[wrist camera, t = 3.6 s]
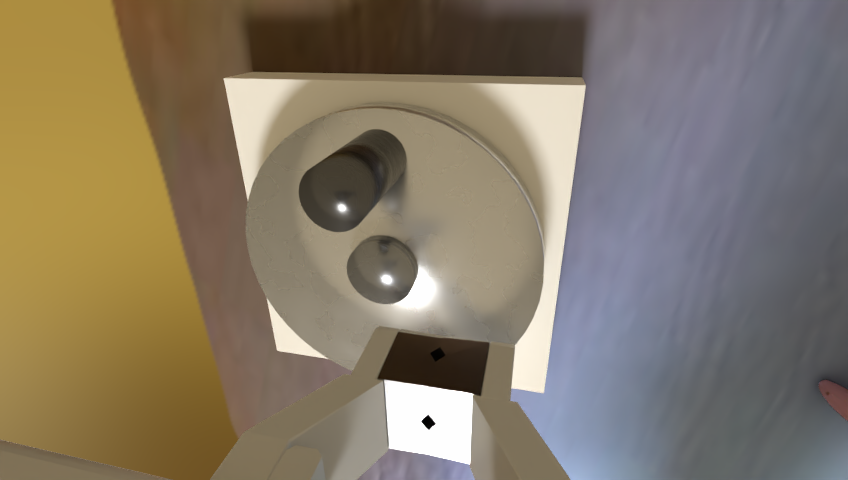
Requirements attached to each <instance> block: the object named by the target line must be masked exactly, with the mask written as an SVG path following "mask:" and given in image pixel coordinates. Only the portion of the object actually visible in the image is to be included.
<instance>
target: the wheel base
mask: <svg viewBox="0 0 848 480" xmlns="http://www.w3.org/2000/svg"><path fill="white" fill-rule="evenodd" d="M224 82H225V87H226V92H227V97H228V102H229V107H230V112H231V118H232V123H233V128H234V133H235V138H236V143H237V148H238V153H239V158H240V163H241V169H242V174H243V179H244V184H245V189H246V194H247V199H249V195H250V192H251V188H252V185H253V182H254V180H255V178H256V176H257V174H258V171H259V169H260V168H261V166H262V165H263V163H264V162H265V160H266V159H267V157H268V156H269V154H270V153H271V152H272V151H273V150H274V149H275V148H276V147H277V146H278V145H279V143H280V142H281V141H282V140H284V139H285V138H286V137H288V136H289V135H290V134H292V133H293V132H294V131H296V130H297V129H299V128H301V127H302V126H304V125H306V124H308V123H310V122H312V121H314V120H316V119H318V118H320V117H322V116H324V115H326V114H328V113H330V112H333V111H336V110H339V109H342V108H345V107H347V106H352V105H358V104H363V103H371V102H395V103H405V104H412V105H416V106H420V107H424V108H428V109H432V110H434V111H437V112H440V113H442V114H445V115H447V116H450V117H452V118H454V119H456V120H458V121H459V122H461V123H463V124H465V125H467V126H469V127H470V128H472V129H473V130H475V131H476V132H477V133H479V134H480V135H481V136H483V137H484V138H486V139H487V140H488V141H489V142H491V143H492V144H493V145H494V146H495V147H496V148H497V149H498V150H499V151H500V152H501V153H502V154H503V155H504V156H505V157H506V158H507V159H508V161H509V162H510V163H511V164H512V166H513V167H514V168H515V169H516V171H517V172H518V173H519V175H520V177H521V178H522V180H523V182H524V183H525V185H526V187H527V188H528V190H529V192H530V194H531V196H532V199H533V201H534V203H535V206H536V208H537V211H538V215H539V219H540V222H541V226H542V231H543V240H544V277H543V287H542V292H541V297H540V302H539V304H538V307H537V310H536V312H535V315H534V318H533V320H532V321H531V323H530V325H529V327H528V328H527V330H526V332H525V333H524V335H523V336H522V337H521V338H520V340H519V341H518V342H517V343H516V345H515V355H514V365H513V376H512V387H511V388H514V389H520V390H527V391H533V392H539V393H544V388H545V381H546V373H547V366H548V359H549V351H550V344H551V337H552V329H553V322H554V315H555V307H556V300H557V293H558V285H559V278H560V271H561V263H562V256H563V249H564V241H565V234H566V227H567V219H568V212H569V205H570V198H571V190H572V183H573V176H574V168H575V161H576V154H577V146H578V139H579V132H580V124H581V117H582V110H583V102H584V95H585V88H586V85H585V83H584V81H583V78H582V77H532V76H471V75H411V74H351V73H291V72H250V73H245V74H241V75H236V76H231V77H227V78H224ZM267 301H268V306H269V311H270V316H271V322H272V327H273V332H274V337H275V342H276V347H277V351H282V352H289V353H295V354H301V355H307V356H314V357H320V358H326V357H325V356H323V355H322V354H320V353H319V352H317V351H316V350H315V349H313V348H312V347H311V346H309V345H308V344H307V343H306V342H305V341H303V340H302V339H301V338H300V337H299V336H298V335H297V334H296V333H295V332H294V331H293V330H292V329H291V328H290V327H289V326H288V325H287V324H286V323H285V322H284V321H283V319H282V318H281V317H280V316H279V315H278V313H277V312H276V311H275V309H274V308H273V306H272V305H271V303H270V302H269V300H268V299H267ZM326 359H328V358H326Z"/></svg>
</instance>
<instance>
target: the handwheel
mask: <svg viewBox="0 0 848 480" xmlns="http://www.w3.org/2000/svg"><path fill="white" fill-rule="evenodd" d="M246 238H247V245H248V252H249V255H250V259H251V263H252V266H253V269H254V272H255V274H256V277H257V279H258V282H259V284H260V286H261V288H262V290H263V291H264V293H265V295H266V297H267V299H268V300H269V302H270V303H271V305H272V306H273V308H274V309H275V311H276V312H277V313H278V315H279V316H280V317H281V318H282V319H283V321H284V322H285V323H286V324H287V325H288V326H289V327H290V328H291V329H292V330H293V331H294V332H295V333H296V334H297V335H298V336H299V337H300V338H301V339H302V340H303V341H305V342H306V343H307V344H308V345H309V346H311V347H312V348H313V349H315V350H316V351H317V352H319V353H320V354H322V355H323V356H325V357H326V358H328V359H330V360H332V361H333V362H335V363H337V364H339V365H341V366H343V367H345V368H347V369H349V370H352V371H353V370H354V368H355V366H356V364H357V362H358V360H359V358H360V357H361V355H362V353H363V351H364V349H365V347H366V345H367V343H368V342H369V340H370V338H371V336H372V334H373V332H374V330H375V329H376V328H377V327H379V326H384V327H390V328H397V329H400V330H401V329H405V330H411V331H417V332H424V333H430V334H436V335H442V336H448V337H455V338H463V339H471V340H478V341H486V342H490V343H491V342H500V343H509V344H514V345H516V343H517V342H518V341H519V340H520V338H521V337H522V336H523V335H524V333H525V332H526V330H527V328H528V327H529V325H530V323H531V321H532V320H533V318H534V315H535V312H536V310H537V307H538V304H539V302H540V297H541V292H542V287H543V277H544V240H543V231H542V226H541V222H540V219H539V215H538V211H537V208H536V206H535V203H534V201H533V199H532V196H531V194H530V192H529V190H528V188H527V187H526V185H525V183H524V182H523V180H522V178H521V177H520V175H519V173H518V172H517V171H516V169H515V168H514V167H513V166H512V164H511V163H510V162H509V161H508V159H507V158H506V157H505V156H504V155H503V154H502V153H501V152H500V151H499V150H498V149H497V148H496V147H495V146H494V145H493V144H492V143H491V142H489V141H488V140H487V139H486V138H484V137H483V136H481V135H480V134H479V133H477V132H476V131H475V130H473V129H472V128H470V127H469V126H467V125H465V124H463V123H461V122H459V121H458V120H456V119H454V118H452V117H450V116H447V115H445V114H442V113H440V112H437V111H434V110H432V109H428V108H424V107H420V106H416V105H412V104H405V103H395V102H371V103H363V104H358V105H352V106H347V107H345V108H342V109H339V110H336V111H333V112H330V113H328V114H326V115H324V116H322V117H320V118H318V119H316V120H314V121H312V122H310V123H308V124H306V125H304V126H302V127H301V128H299V129H297V130H296V131H294V132H293V133H292V134H290V135H289V136H288V137H286V138H285V139H284V140H282V141H281V142H280V143H279V145H278V146H277V147H276V148H275V149H274V150H273V151H272V152H271V153H270V154H269V156H268V157H267V159H266V160H265V162H264V163H263V165H262V166H261V168H260V169H259V171H258V174H257V176H256V178H255V180H254V182H253V185H252V188H251V192H250V195H249V199H248V204H247V212H246Z"/></svg>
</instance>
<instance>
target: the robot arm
mask: <svg viewBox="0 0 848 480" xmlns="http://www.w3.org/2000/svg"><path fill="white" fill-rule="evenodd" d="M514 355H515V345H514V344H509V343H500V342H491V343H490V342H486V341H478V340H471V339H463V338H455V337H448V336H442V335H436V334H430V333H424V332H417V331H411V330H405V329H401V330H400V329H397V328H390V327H384V326H379V327H377V328H376V329H375V330H374V332H373V334H372V336H371V338H370V340H369V342H368V343H367V345H366V347H365V349H364V351H363V353H362V355H361V357H360V358H359V360H358V362H357V364H356V366H355V368H354V370H353V372H352V373H351V375H346V374H344V375H342V376H340V377H338V378H337V379H335V380H333V381H332V382H330V383H328V384H326V385H325V386H323V387H321V388H319V389H318V390H316V391H314V392H313V393H311V394H309V395H307V396H306V397H304V398H302V399H300V400H299V401H297V402H295V403H293V404H292V405H290V406H288V407H287V408H285V409H283V410H281V411H280V412H278V413H276V414H274V415H273V416H271V417H269V418H268V419H266V420H264V421H262V422H261V423H259V424H257V425H255V426H254V427H252V428H250V429H249V430H247V431H245V432H244V433H243V434H242V436H241V437H240V438H239V440H238V441H237V443H236V444H235V446H234V447H233V448H232V450H231V451H230V452H229V454H228V455H227V457H226V458H225V460H224V461H223V462H222V464H221V465H220V466H219V468H218V469H217V471H216V472H215V473H214V475H213V476H212V478H211V479H210V480H357V479H358V478H359V477H360V476H361V475H362V474H363V473H364V472H365V471H366V470H367V469H369V468H370V467H371V466H372V465H373V464H374V463H375V462H376V461H377V460H378V459H379V458H380V457H382V456H383V455H384V454H385V453H386V452H387V451H388V448H392V449H398V450H405V451H411V452H417V453H423V454H429V455H433V456H438V457H442V458H447V459H451V460H456V461H460V462H465V463H469V464H470V468H471V470H472V473H473V475H474V478H475V480H570V478H569V477H568V475H567V474H566V472H565V471H564V469H563V468H562V466H561V465H560V464H559V462H558V461H557V459H556V458H555V456H554V455H553V453H552V452H551V450H550V449H549V448H548V446H547V445H546V443H545V442H544V440H543V439H542V437H541V436H540V434H539V433H538V431H537V430H536V429H535V427H534V426H533V424H532V423H531V421H530V420H529V418H528V417H527V415H526V414H525V413H524V411H523V410H522V408H521V407H520V405H519V404H518V403H517V402H512V401H510V397H511V387H512V376H513V365H514ZM0 480H171V479H166V478H162V477H157V476H153V475H149V474H144V473H141V472H136V471H132V470H127V469H123V468H118V467H115V466H110V465H106V464H101V463H98V462H93V461H89V460H85V459H80V458H76V457H72V456H68V455H63V454H59V453H55V452H51V451H46V450H42V449H38V448H33V447H29V446H25V445H20V444H16V443H12V442H7V441H3V440H0Z"/></svg>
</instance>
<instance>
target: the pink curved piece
mask: <svg viewBox="0 0 848 480" xmlns="http://www.w3.org/2000/svg"><path fill="white" fill-rule="evenodd" d="M818 387H819V389H820V392H821V393H822V395H823V397H824V398H825V399H826V400H827V402H828V403H829V404H830V406H831V407H832V408H833V409H834V410H836V411H837V412H838V413H839V414H840V415H841V416H842V417H843V418H845V419H846V420H847V421H848V390H847V389H845V388H844V387H842V386H840V385H838V384H836V383H833V382H831V381H829V380H822V381H820V382H819V386H818Z"/></svg>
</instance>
